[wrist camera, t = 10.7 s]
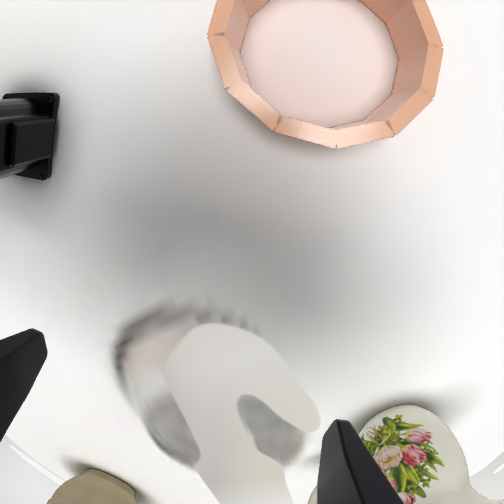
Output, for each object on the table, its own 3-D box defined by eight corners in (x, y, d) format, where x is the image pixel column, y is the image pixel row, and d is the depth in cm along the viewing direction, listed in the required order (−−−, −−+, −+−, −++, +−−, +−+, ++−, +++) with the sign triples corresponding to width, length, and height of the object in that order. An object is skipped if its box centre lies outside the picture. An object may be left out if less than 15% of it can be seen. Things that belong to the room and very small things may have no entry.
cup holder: (211, 116, 17) (188, 114, 13) (251, -36, 13) (241, -71, 9) (386, 163, 17) (413, 175, 13) (420, 11, 13) (450, -12, 9)
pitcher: (280, 436, 28) (269, 562, 15) (454, 355, 22) (514, 486, 9) (331, 474, 30) (332, 573, 18) (472, 411, 25) (510, 511, 12)
